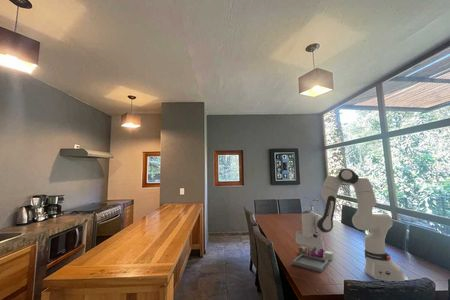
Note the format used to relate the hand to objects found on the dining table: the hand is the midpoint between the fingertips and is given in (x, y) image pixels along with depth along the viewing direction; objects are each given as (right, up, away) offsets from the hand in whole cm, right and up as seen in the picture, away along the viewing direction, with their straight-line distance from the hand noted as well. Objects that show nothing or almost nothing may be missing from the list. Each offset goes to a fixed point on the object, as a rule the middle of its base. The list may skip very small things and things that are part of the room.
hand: (310, 252), depth 152 cm
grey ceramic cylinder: (+20, -11, +25) cm, 34 cm away
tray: (0, -8, -1) cm, 8 cm away
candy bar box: (+11, -10, +14) cm, 20 cm away
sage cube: (+18, -9, +7) cm, 21 cm away
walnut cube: (+2, -11, +20) cm, 22 cm away
